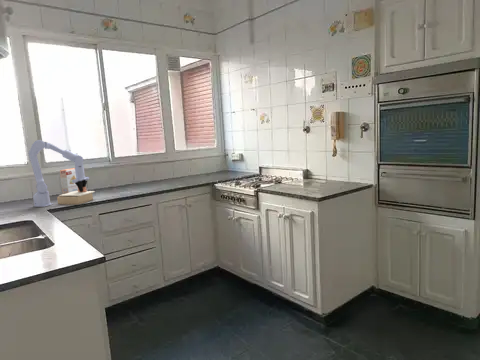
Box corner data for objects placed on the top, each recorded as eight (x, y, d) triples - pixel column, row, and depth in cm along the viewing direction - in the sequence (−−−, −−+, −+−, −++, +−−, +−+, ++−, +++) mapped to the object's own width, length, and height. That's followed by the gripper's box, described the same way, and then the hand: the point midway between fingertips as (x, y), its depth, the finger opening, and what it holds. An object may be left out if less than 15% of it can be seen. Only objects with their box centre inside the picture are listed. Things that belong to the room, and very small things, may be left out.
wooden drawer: (58, 204, 227) (57, 197, 227) (73, 199, 241) (72, 192, 240) (78, 204, 223) (77, 197, 222) (93, 199, 236) (92, 192, 235)
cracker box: (69, 197, 250) (65, 170, 247) (62, 197, 252) (58, 170, 248) (81, 193, 264) (78, 167, 261) (75, 194, 265) (71, 168, 262)
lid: (59, 196, 229) (58, 190, 228) (74, 192, 242) (73, 186, 242) (80, 196, 224) (79, 190, 223) (95, 191, 238) (94, 186, 237)
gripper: (77, 173, 228) (79, 193, 230) (91, 170, 242) (94, 189, 244) (68, 173, 230) (71, 193, 232) (83, 171, 243) (86, 189, 246)
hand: (82, 191), depth 238 cm, fingers closed on lid, 2 cm apart
